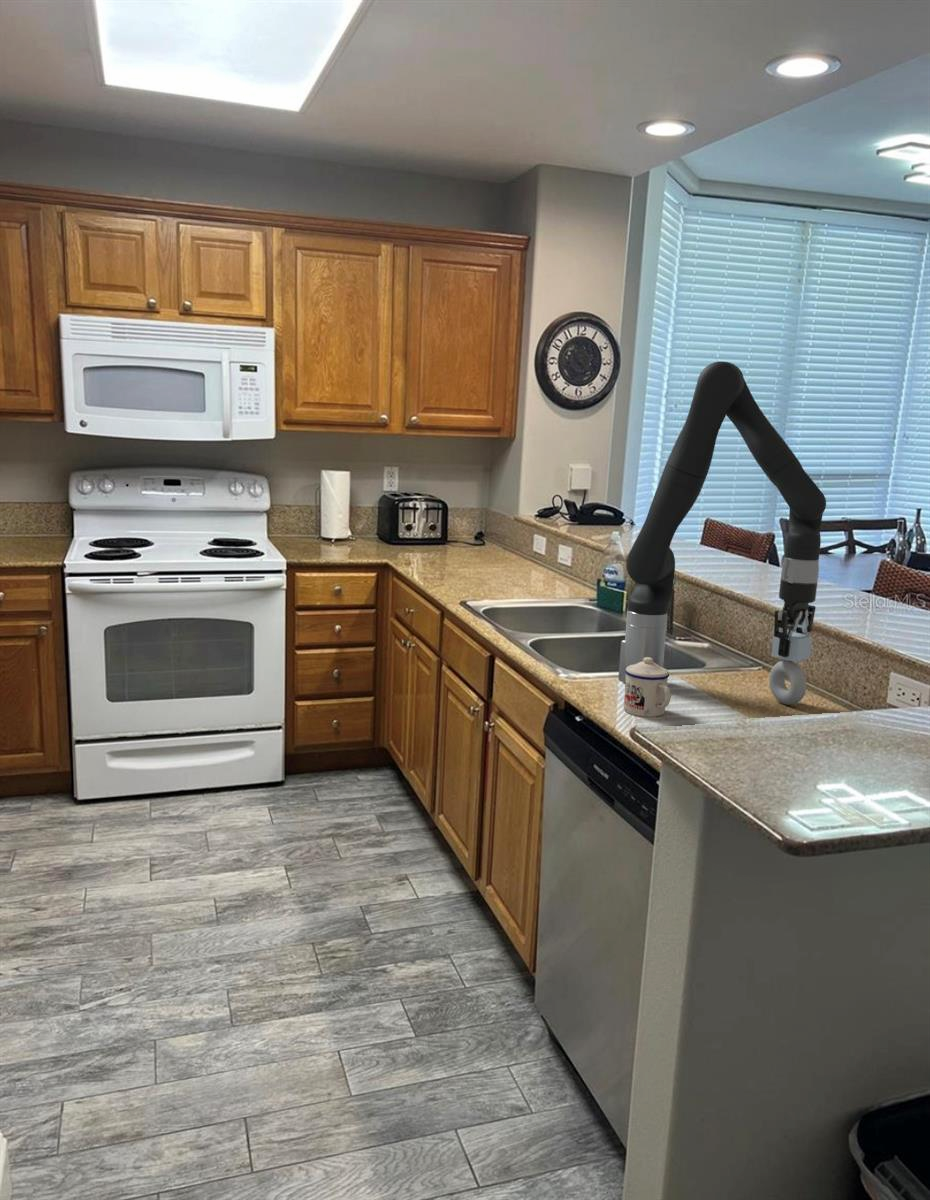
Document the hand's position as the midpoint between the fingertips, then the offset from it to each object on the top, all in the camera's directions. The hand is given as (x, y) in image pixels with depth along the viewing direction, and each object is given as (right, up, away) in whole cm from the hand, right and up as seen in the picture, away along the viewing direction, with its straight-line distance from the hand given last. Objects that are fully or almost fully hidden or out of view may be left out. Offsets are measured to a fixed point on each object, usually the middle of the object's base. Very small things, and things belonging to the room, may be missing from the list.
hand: (790, 653), depth 202 cm
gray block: (0, -1, 0) cm, 1 cm away
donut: (0, -11, +2) cm, 12 cm away
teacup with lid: (-33, -12, -8) cm, 36 cm away
